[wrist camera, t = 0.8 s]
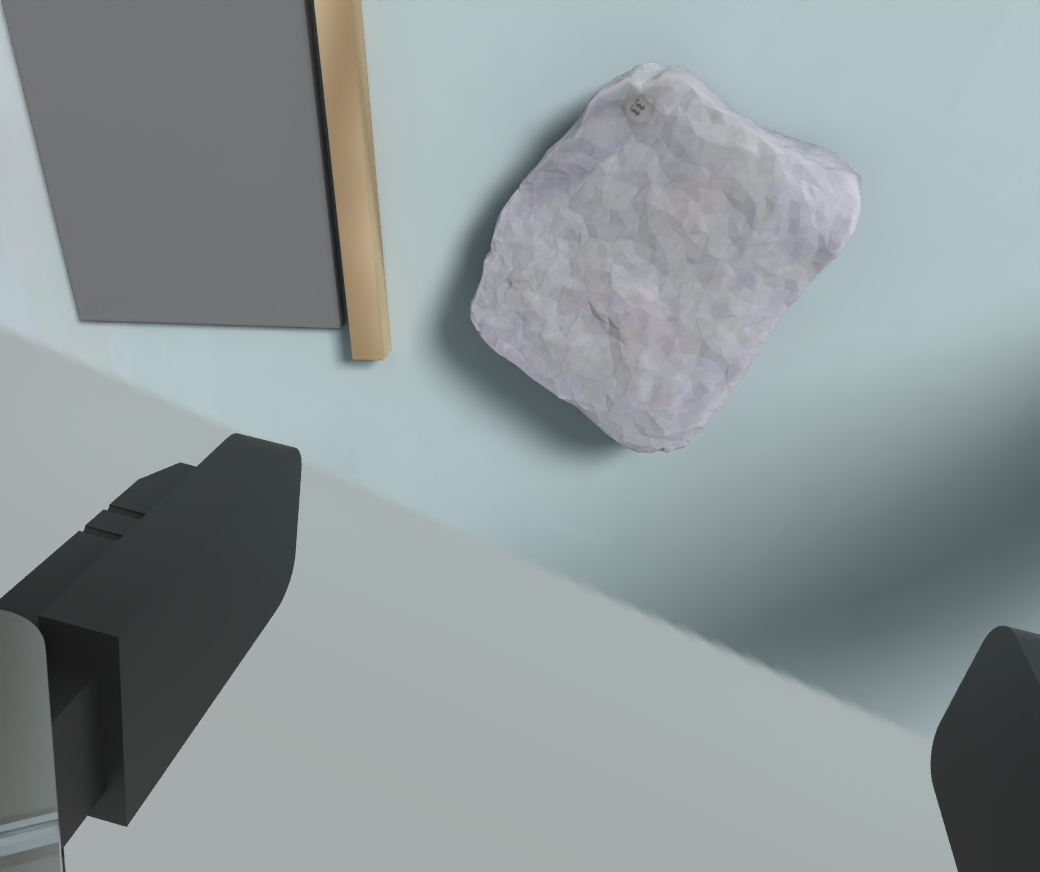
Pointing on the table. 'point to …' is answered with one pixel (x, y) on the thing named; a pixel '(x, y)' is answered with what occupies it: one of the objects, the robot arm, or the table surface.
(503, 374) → the table surface
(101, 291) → the mat
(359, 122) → the strip
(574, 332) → the stone block
